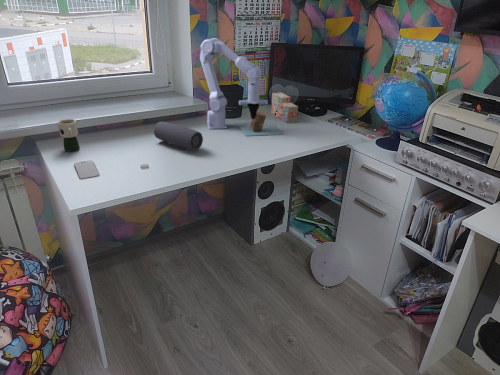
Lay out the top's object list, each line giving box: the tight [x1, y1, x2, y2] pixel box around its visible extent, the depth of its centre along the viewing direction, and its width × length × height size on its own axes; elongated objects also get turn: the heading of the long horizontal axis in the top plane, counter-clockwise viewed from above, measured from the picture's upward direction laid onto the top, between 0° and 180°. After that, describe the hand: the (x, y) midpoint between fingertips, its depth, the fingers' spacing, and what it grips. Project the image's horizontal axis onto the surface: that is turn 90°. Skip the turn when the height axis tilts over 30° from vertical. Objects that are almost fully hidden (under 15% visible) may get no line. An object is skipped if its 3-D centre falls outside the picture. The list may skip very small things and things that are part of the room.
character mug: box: [57, 118, 81, 152], centre depth 162 cm, size 11×7×13 cm, turn 33°
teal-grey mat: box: [239, 124, 284, 137], centre depth 198 cm, size 20×14×1 cm
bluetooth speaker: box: [153, 121, 204, 151], centre depth 172 cm, size 23×9×10 cm, turn 56°
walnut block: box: [250, 110, 267, 132], centre depth 195 cm, size 5×5×9 cm
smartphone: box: [73, 160, 100, 180], centre depth 147 cm, size 7×1×15 cm
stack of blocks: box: [270, 92, 299, 124], centre depth 219 cm, size 21×6×12 cm, turn 22°
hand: (252, 118), depth 193 cm, fingers closed
